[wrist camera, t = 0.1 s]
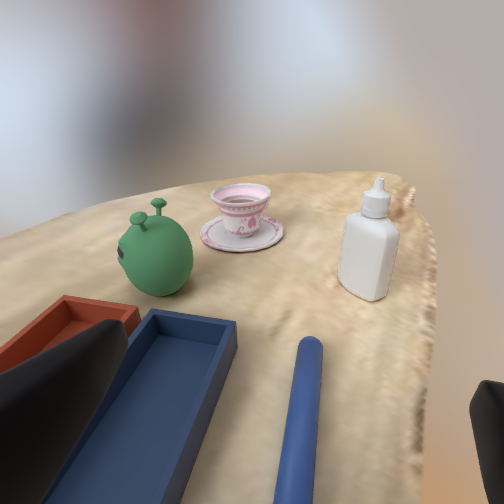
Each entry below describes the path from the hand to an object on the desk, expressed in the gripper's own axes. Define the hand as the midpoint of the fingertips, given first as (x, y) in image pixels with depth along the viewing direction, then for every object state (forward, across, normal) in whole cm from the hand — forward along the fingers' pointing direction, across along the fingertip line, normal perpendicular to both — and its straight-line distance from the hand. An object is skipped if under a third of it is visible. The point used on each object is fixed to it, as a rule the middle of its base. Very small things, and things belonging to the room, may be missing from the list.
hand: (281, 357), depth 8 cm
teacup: (+35, +11, +15) cm, 39 cm away
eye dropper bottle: (+25, -5, +15) cm, 29 cm away
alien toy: (+20, +16, +15) cm, 29 cm away
